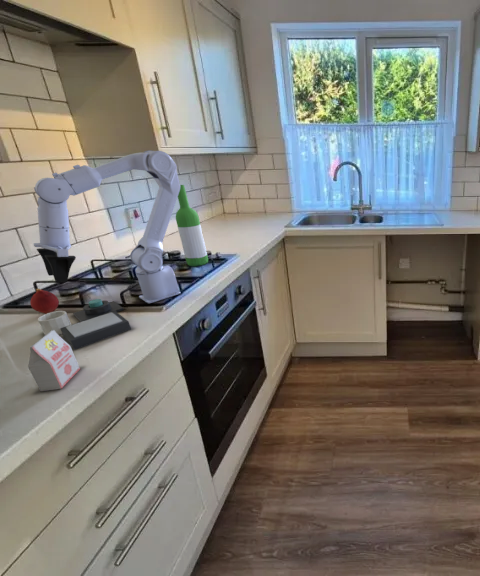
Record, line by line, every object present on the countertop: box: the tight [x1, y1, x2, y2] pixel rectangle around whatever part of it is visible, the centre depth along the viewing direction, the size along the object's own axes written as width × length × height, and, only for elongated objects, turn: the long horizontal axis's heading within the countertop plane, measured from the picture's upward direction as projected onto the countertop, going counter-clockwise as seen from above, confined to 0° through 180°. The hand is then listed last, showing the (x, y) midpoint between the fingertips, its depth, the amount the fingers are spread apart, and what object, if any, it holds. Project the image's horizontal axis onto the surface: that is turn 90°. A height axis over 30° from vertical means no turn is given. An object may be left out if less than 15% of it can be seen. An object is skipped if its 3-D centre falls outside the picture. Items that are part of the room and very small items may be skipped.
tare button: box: [87, 298, 103, 308], centre depth 103 cm, size 3×3×2 cm
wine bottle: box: [175, 184, 209, 267], centre depth 136 cm, size 8×8×30 cm
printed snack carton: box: [27, 330, 81, 392], centre depth 73 cm, size 4×7×10 cm, turn 12°
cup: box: [36, 310, 72, 336], centre depth 93 cm, size 6×6×4 cm
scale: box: [60, 311, 132, 350], centre depth 92 cm, size 12×10×3 cm
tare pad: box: [72, 300, 125, 322], centre depth 103 cm, size 10×8×2 cm
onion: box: [29, 288, 60, 315], centre depth 102 cm, size 6×6×8 cm
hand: (57, 278), depth 95 cm, fingers open, 7 cm apart
